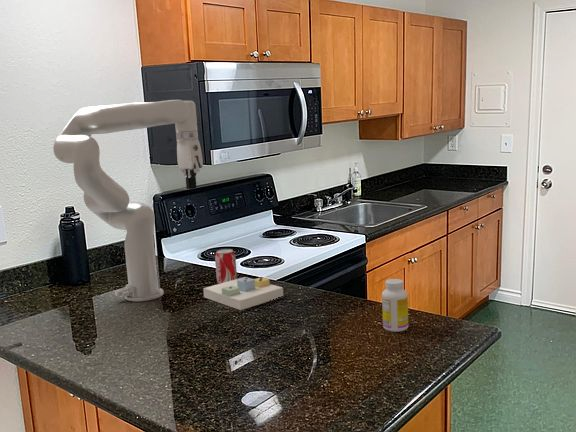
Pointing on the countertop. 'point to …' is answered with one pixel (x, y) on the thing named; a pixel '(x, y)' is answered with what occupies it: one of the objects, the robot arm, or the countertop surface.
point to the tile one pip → (230, 291)
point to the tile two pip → (246, 284)
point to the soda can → (225, 266)
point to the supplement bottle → (395, 306)
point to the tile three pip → (261, 282)
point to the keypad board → (243, 295)
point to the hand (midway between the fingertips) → (191, 188)
